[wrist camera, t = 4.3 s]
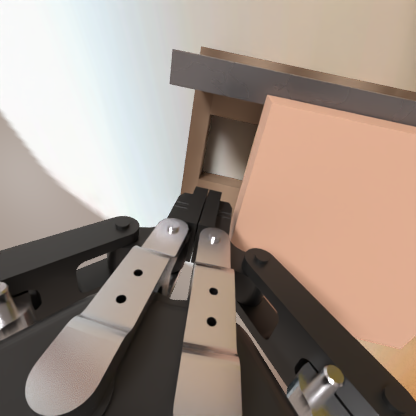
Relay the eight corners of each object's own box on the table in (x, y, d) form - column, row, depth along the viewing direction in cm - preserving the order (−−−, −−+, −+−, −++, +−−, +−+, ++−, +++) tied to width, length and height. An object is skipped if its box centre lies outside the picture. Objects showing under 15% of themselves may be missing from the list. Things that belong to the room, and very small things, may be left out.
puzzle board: (558, 123, 19) (801, 170, 11) (430, 262, 27) (512, 351, 18) (205, 47, 20) (173, 36, 11) (182, 204, 27) (153, 265, 19)
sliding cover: (519, 149, 11) (597, 174, 9) (378, 308, 18) (400, 349, 15) (267, 94, 12) (272, 103, 9) (217, 269, 18) (212, 303, 15)
